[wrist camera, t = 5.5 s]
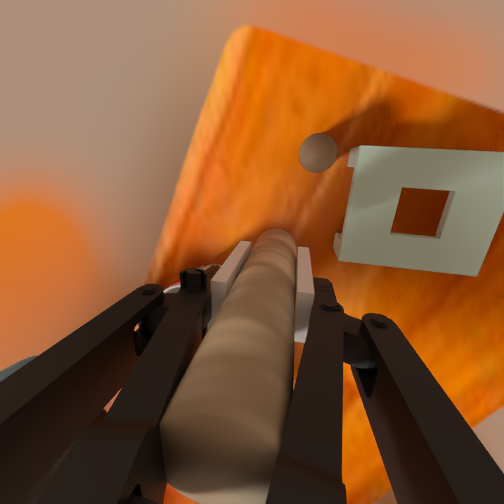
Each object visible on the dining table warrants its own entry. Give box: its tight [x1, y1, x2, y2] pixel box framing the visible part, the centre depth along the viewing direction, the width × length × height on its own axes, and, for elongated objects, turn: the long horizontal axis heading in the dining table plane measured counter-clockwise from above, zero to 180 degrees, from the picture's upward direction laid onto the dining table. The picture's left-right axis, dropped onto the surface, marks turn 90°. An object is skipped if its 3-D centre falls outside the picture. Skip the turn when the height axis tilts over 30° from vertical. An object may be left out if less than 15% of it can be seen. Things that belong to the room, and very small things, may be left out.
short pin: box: [299, 133, 337, 173], centre depth 26 cm, size 3×3×7 cm
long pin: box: [159, 228, 297, 504], centre depth 13 cm, size 3×3×16 cm
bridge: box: [333, 145, 504, 277], centre depth 27 cm, size 14×12×5 cm
